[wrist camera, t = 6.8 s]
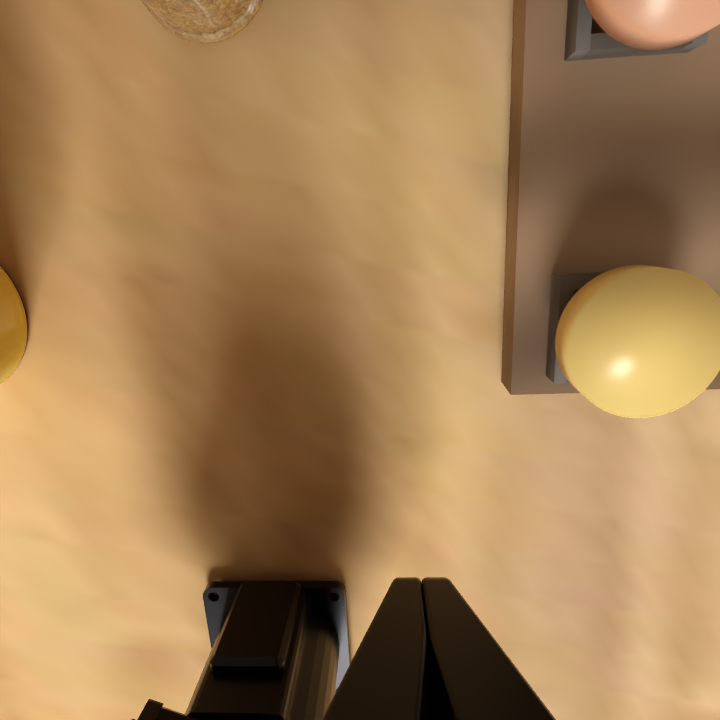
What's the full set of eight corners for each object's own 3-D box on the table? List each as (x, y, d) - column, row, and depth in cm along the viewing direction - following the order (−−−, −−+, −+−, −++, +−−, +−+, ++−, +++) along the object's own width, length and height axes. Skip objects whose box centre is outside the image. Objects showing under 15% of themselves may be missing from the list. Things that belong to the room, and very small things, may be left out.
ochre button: (674, 391, 16) (717, 416, 14) (541, 395, 16) (564, 419, 14) (692, 258, 15) (742, 264, 13) (548, 265, 15) (574, 272, 13)
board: (822, 372, 18) (886, 393, 16) (501, 381, 19) (517, 403, 17) (932, -115, 14) (1038, -181, 12) (516, -77, 15) (540, -133, 13)
